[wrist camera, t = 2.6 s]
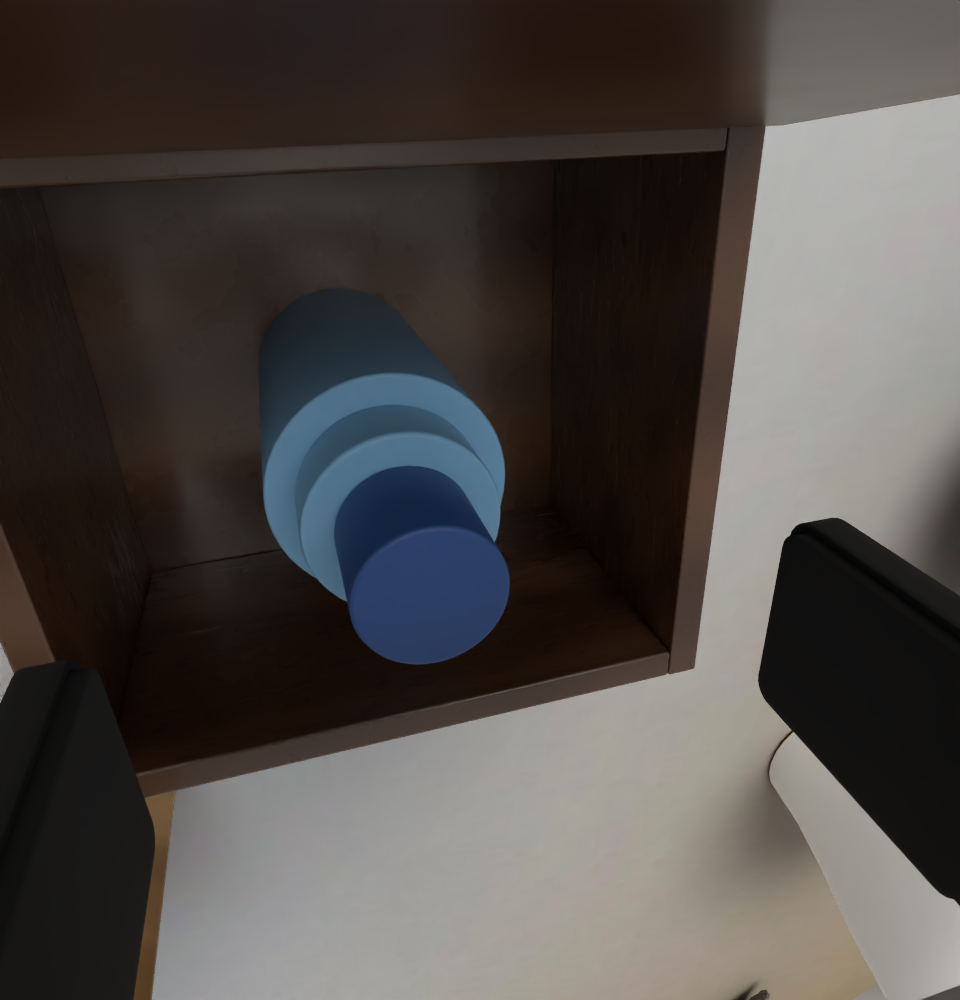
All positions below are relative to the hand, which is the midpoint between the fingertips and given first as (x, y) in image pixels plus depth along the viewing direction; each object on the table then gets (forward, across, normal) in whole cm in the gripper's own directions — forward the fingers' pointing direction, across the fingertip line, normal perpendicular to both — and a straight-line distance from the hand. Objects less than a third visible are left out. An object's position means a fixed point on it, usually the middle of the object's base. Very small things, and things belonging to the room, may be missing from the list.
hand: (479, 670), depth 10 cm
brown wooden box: (+16, 0, 0) cm, 16 cm away
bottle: (+15, 0, 0) cm, 15 cm away
